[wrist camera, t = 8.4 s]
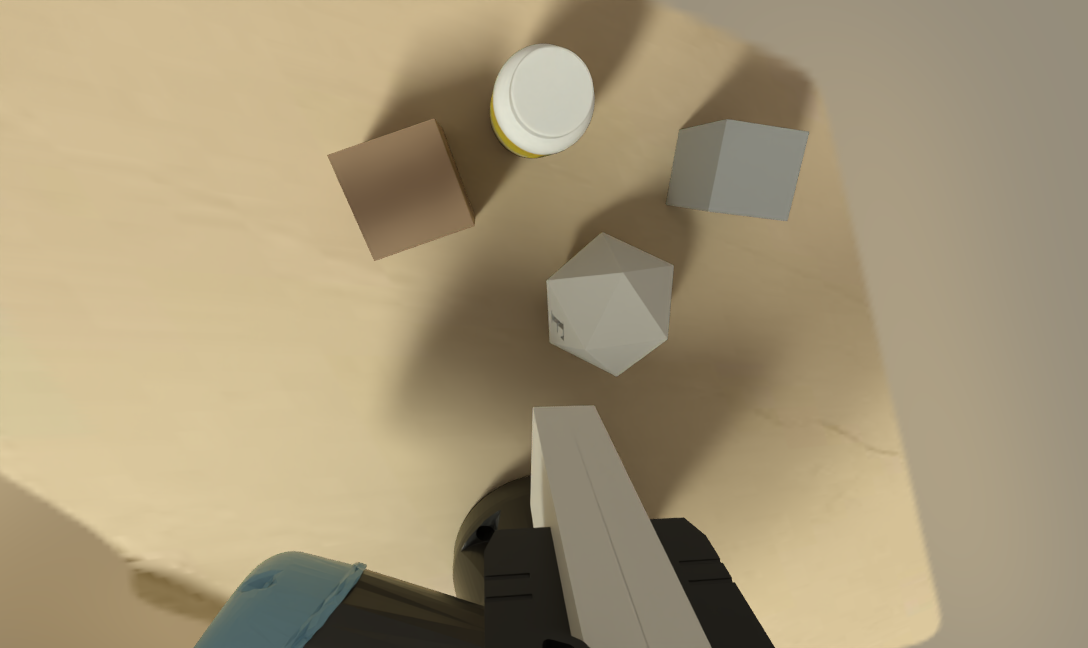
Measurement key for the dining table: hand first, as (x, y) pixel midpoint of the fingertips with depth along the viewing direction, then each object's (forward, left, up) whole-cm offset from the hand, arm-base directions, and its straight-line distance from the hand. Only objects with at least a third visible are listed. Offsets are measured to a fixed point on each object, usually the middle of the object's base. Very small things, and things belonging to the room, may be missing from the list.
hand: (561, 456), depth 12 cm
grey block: (+6, -14, -25) cm, 29 cm away
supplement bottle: (+10, -2, -25) cm, 27 cm away
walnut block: (+6, +6, -25) cm, 26 cm away
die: (-2, -6, -25) cm, 26 cm away
